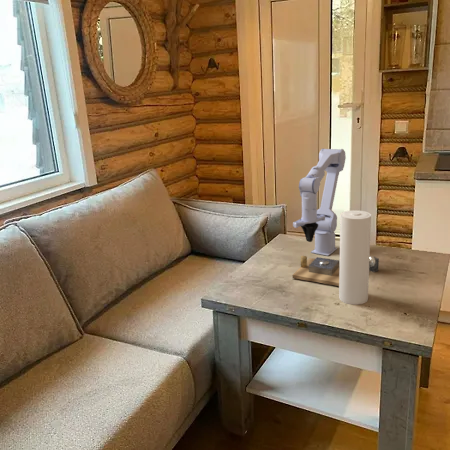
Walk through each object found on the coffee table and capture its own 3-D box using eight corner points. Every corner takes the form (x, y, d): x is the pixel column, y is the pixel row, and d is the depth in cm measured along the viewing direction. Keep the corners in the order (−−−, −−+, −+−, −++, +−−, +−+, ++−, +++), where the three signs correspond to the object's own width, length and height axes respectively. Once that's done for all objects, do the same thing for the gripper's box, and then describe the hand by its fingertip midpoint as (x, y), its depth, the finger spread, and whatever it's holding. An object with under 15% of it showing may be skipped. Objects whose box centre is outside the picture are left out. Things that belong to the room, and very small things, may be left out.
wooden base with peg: (292, 277, 170) (291, 265, 169) (309, 260, 185) (309, 248, 183) (339, 286, 161) (340, 272, 160) (353, 267, 176) (354, 254, 174)
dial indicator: (372, 268, 176) (373, 253, 174) (379, 271, 172) (380, 256, 170) (365, 269, 175) (366, 255, 173) (372, 273, 171) (373, 258, 169)
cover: (308, 271, 172) (308, 264, 171) (316, 263, 179) (316, 256, 178) (331, 275, 167) (332, 268, 166) (339, 266, 174) (339, 259, 174)
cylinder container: (369, 305, 148) (372, 217, 139) (339, 303, 150) (341, 217, 141) (366, 292, 157) (369, 208, 148) (338, 291, 159) (339, 208, 150)
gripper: (316, 202, 183) (316, 234, 187) (287, 209, 176) (288, 242, 180) (328, 206, 177) (328, 239, 181) (299, 213, 170) (299, 247, 174)
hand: (309, 241), depth 180 cm, fingers closed
